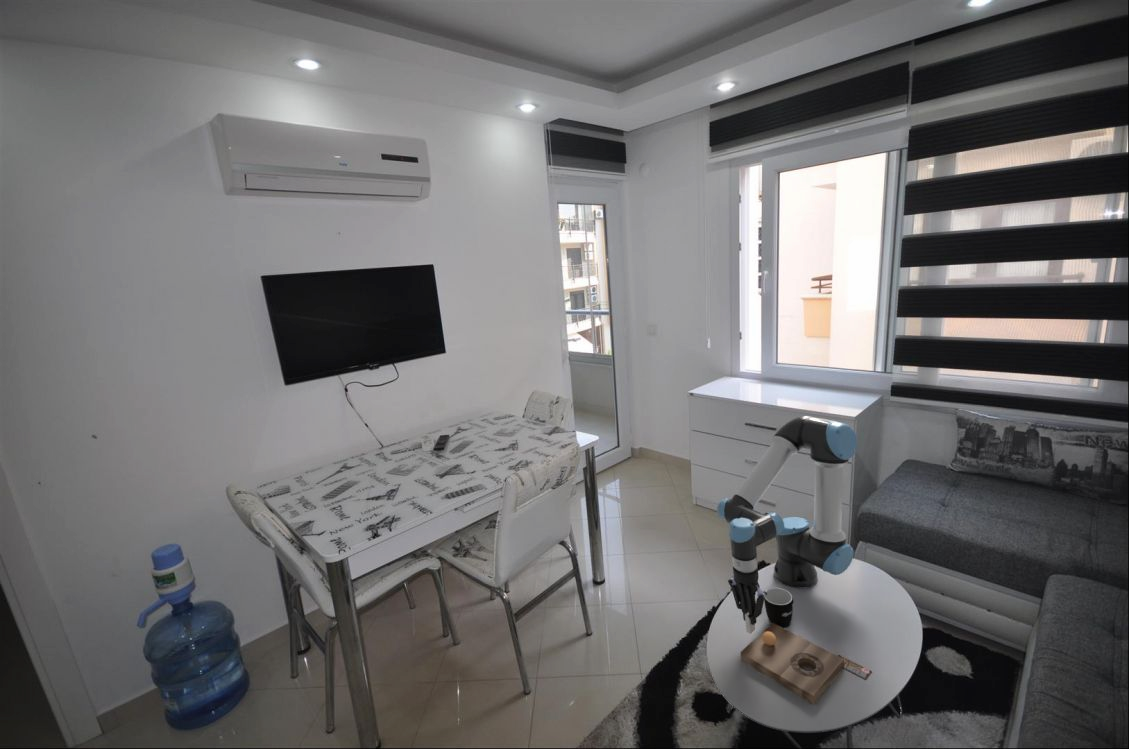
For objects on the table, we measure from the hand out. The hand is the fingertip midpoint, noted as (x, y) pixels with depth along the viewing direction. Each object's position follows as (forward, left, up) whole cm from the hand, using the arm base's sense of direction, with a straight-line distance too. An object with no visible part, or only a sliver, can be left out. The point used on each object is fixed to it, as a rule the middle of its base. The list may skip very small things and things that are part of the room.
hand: (750, 630), depth 162 cm
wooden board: (0, +14, -4) cm, 14 cm away
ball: (0, +7, +1) cm, 7 cm away
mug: (-16, +2, -5) cm, 16 cm away
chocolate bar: (-11, +27, -5) cm, 29 cm away
